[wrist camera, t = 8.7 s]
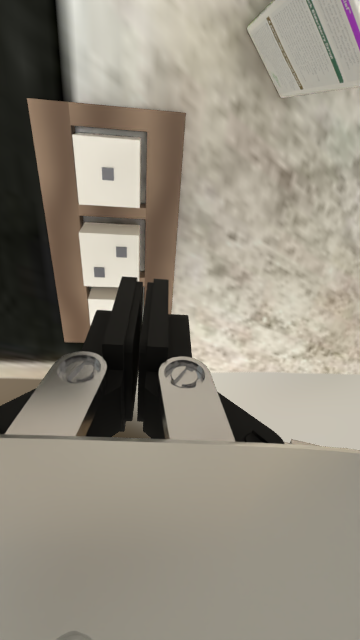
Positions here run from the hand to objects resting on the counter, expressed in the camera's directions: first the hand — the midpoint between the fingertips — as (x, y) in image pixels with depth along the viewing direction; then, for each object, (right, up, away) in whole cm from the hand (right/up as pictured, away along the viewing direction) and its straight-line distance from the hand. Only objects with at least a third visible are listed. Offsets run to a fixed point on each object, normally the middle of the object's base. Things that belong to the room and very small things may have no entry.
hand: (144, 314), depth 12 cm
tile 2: (-5, +7, +19) cm, 21 cm away
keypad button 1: (-5, +13, +16) cm, 21 cm away
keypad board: (-5, +8, +20) cm, 22 cm away
